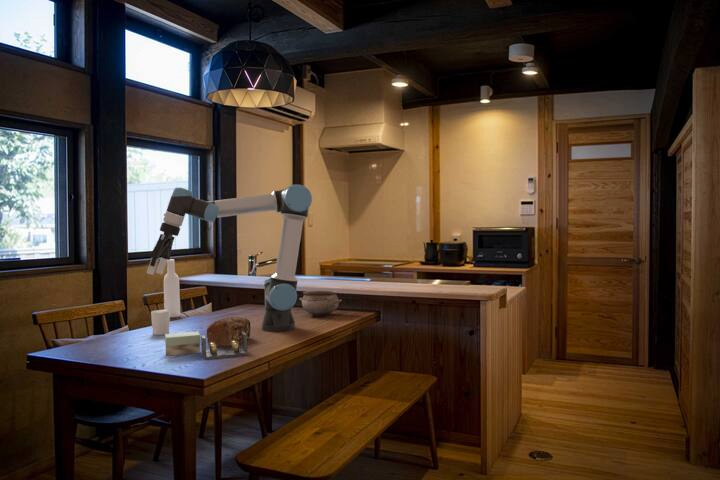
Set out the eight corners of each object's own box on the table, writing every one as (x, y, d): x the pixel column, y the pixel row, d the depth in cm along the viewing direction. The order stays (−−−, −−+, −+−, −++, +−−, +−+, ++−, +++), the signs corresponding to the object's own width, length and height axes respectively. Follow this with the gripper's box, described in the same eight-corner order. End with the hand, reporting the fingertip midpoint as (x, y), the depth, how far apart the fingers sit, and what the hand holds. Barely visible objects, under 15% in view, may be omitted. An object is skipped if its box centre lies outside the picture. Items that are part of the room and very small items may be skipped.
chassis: (243, 348, 221) (242, 330, 221) (248, 355, 210) (248, 336, 210) (200, 352, 216) (200, 334, 216) (204, 359, 205) (203, 339, 204)
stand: (199, 350, 220) (198, 340, 219) (200, 352, 217) (199, 341, 217) (165, 354, 215) (165, 343, 215) (166, 355, 212) (165, 344, 212)
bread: (229, 347, 225) (228, 322, 224) (205, 346, 228) (204, 321, 227) (252, 338, 242) (251, 314, 242) (229, 337, 246) (228, 314, 245)
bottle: (171, 318, 300) (170, 260, 299) (161, 317, 304) (159, 259, 303) (183, 315, 307) (181, 259, 306) (173, 314, 311) (171, 258, 310)
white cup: (164, 335, 252) (163, 312, 252) (148, 335, 254) (147, 312, 253) (173, 332, 260) (173, 309, 260) (157, 331, 261) (157, 309, 261)
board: (198, 339, 222) (198, 331, 222) (200, 342, 214) (200, 334, 214) (165, 342, 217) (164, 334, 217) (166, 346, 210) (165, 337, 210)
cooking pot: (289, 317, 296) (289, 293, 295) (310, 311, 312) (310, 289, 312) (331, 320, 283) (331, 295, 283) (350, 314, 300) (350, 290, 300)
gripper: (170, 223, 250) (154, 270, 249) (154, 219, 225) (136, 271, 224) (187, 229, 250) (171, 275, 249) (173, 225, 226) (155, 277, 224)
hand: (154, 273), depth 236 cm, fingers open, 13 cm apart
